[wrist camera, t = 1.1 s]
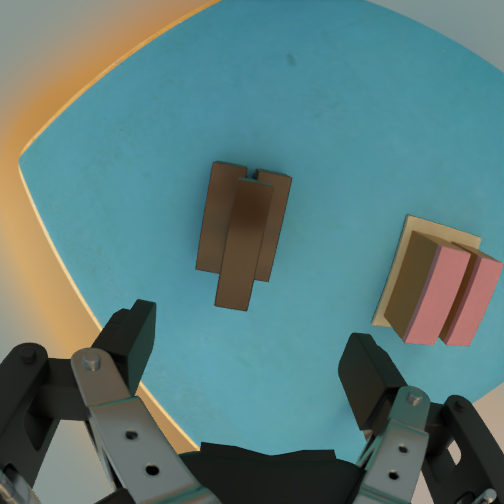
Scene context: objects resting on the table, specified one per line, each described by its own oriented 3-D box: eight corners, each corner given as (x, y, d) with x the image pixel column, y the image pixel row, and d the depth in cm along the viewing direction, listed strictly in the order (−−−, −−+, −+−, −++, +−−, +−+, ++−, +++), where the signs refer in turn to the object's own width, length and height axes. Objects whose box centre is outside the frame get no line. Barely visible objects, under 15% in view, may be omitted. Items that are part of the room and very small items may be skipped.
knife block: (216, 160, 30) (212, 161, 26) (286, 174, 30) (292, 177, 27) (200, 255, 33) (195, 269, 29) (265, 267, 33) (268, 282, 30)
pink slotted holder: (406, 214, 32) (439, 229, 26) (479, 237, 33) (512, 253, 27) (370, 323, 36) (391, 354, 30) (444, 330, 37) (469, 355, 31)
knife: (238, 169, 30) (236, 179, 19) (262, 174, 30) (274, 186, 20) (222, 255, 33) (214, 306, 22) (245, 259, 33) (247, 312, 22)
